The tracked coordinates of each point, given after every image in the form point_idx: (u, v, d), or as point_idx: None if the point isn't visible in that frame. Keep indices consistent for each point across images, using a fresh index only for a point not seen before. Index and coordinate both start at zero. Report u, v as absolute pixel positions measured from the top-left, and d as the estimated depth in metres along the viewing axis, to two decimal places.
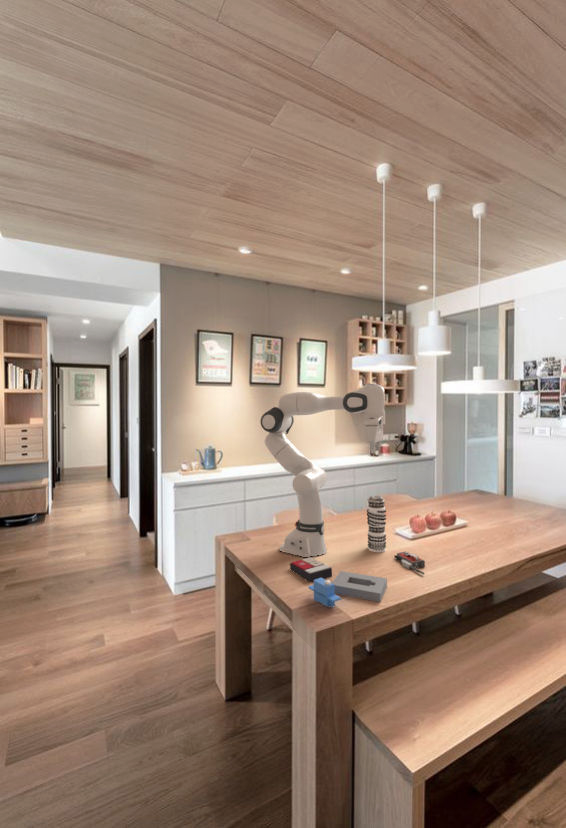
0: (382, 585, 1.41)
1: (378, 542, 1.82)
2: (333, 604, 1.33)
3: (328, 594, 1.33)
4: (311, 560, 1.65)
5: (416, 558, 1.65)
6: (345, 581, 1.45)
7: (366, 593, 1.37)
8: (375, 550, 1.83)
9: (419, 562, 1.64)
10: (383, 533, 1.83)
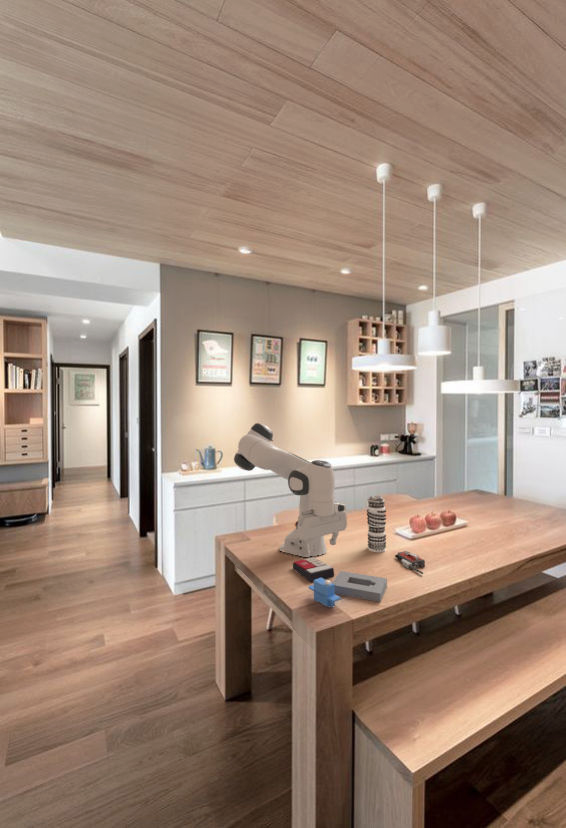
0: (382, 585, 1.41)
1: (378, 542, 1.82)
2: (333, 604, 1.33)
3: (328, 594, 1.33)
4: (314, 560, 1.65)
5: (416, 558, 1.65)
6: (345, 581, 1.45)
7: (366, 593, 1.37)
8: (375, 550, 1.83)
9: (419, 562, 1.64)
10: (383, 533, 1.83)
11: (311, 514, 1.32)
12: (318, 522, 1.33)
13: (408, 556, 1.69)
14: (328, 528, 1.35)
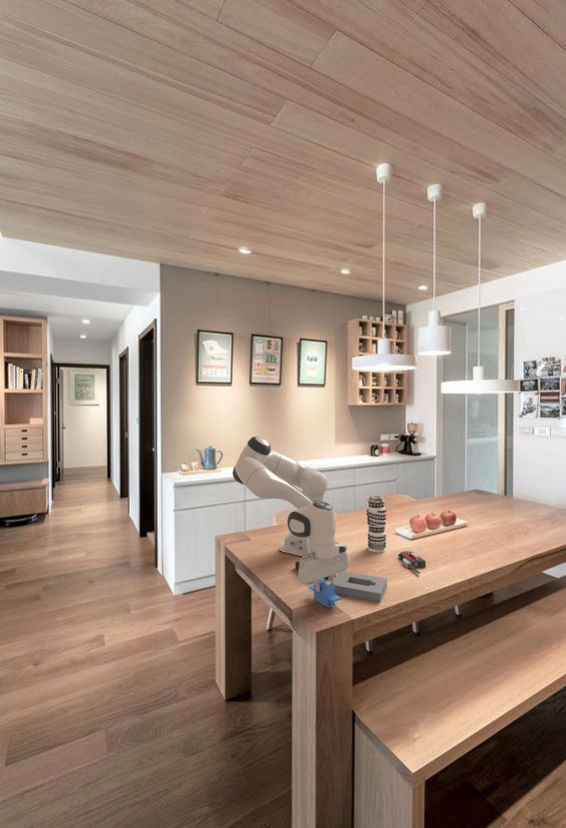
0: (382, 585, 1.41)
1: (378, 542, 1.82)
2: (333, 604, 1.33)
3: (328, 594, 1.33)
4: None
5: (416, 557, 1.65)
6: (345, 581, 1.45)
7: (366, 593, 1.37)
8: (375, 550, 1.83)
9: (419, 562, 1.64)
10: (383, 533, 1.83)
11: (312, 557, 1.33)
12: (319, 565, 1.33)
13: (410, 556, 1.69)
14: (329, 569, 1.35)
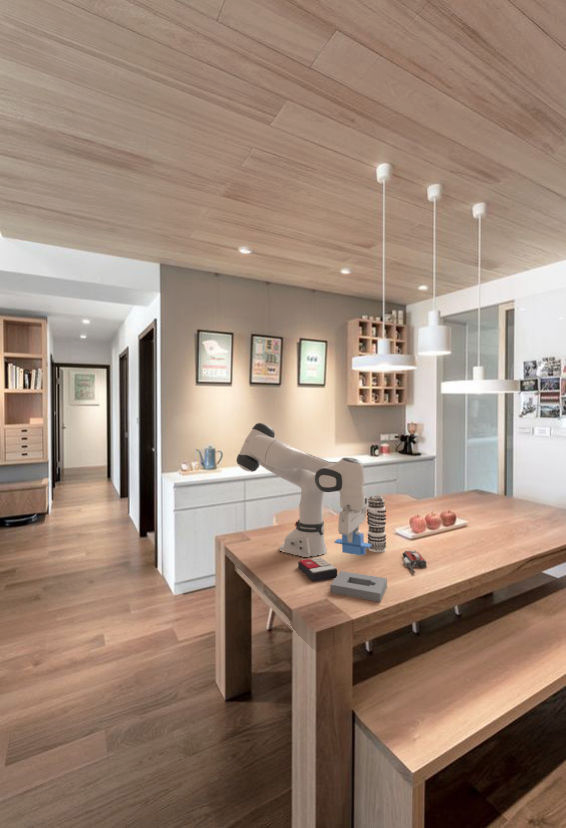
0: (382, 585, 1.41)
1: (378, 542, 1.82)
2: (365, 551, 1.41)
3: (361, 543, 1.41)
4: (319, 560, 1.65)
5: (416, 557, 1.65)
6: (345, 581, 1.45)
7: (366, 593, 1.37)
8: (375, 550, 1.83)
9: (419, 562, 1.64)
10: (383, 533, 1.83)
11: (348, 509, 1.39)
12: (353, 516, 1.40)
13: (412, 555, 1.70)
14: (358, 520, 1.44)
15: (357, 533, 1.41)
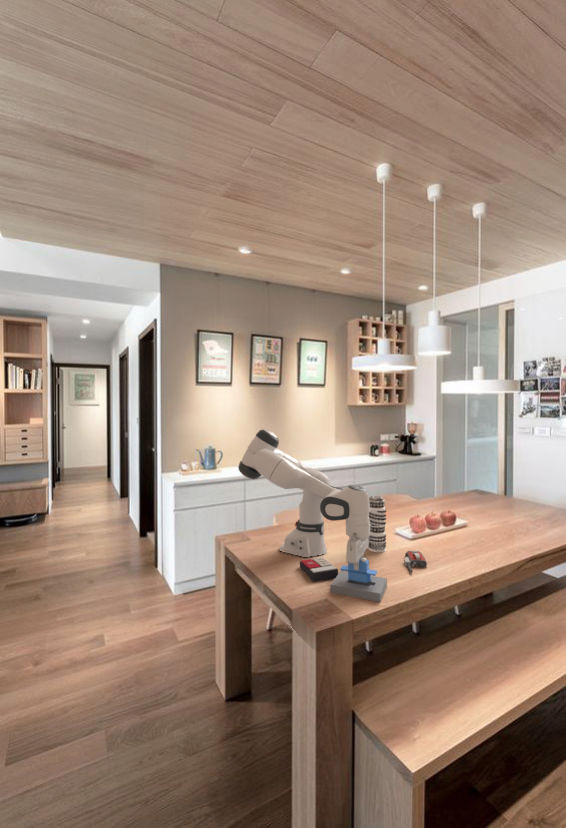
0: (382, 585, 1.41)
1: (378, 542, 1.82)
2: (370, 578, 1.43)
3: (367, 570, 1.42)
4: (321, 560, 1.65)
5: (417, 557, 1.65)
6: (345, 581, 1.45)
7: (366, 593, 1.37)
8: (375, 550, 1.83)
9: (419, 562, 1.64)
10: (383, 533, 1.83)
11: (355, 537, 1.40)
12: (360, 544, 1.41)
13: (413, 555, 1.70)
14: (363, 547, 1.45)
15: (363, 560, 1.43)
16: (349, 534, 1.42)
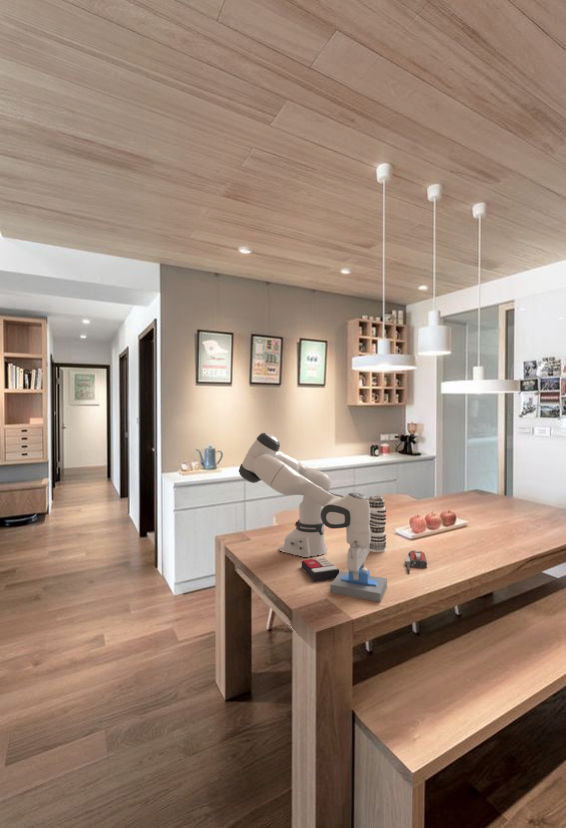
0: (382, 585, 1.41)
1: (378, 542, 1.82)
2: None
3: (368, 580, 1.43)
4: (323, 560, 1.65)
5: (417, 557, 1.65)
6: (345, 581, 1.45)
7: (366, 593, 1.37)
8: (375, 550, 1.83)
9: (419, 562, 1.64)
10: (383, 533, 1.83)
11: (356, 545, 1.40)
12: (360, 552, 1.41)
13: (415, 555, 1.70)
14: (364, 555, 1.45)
15: (364, 571, 1.43)
16: (350, 542, 1.42)
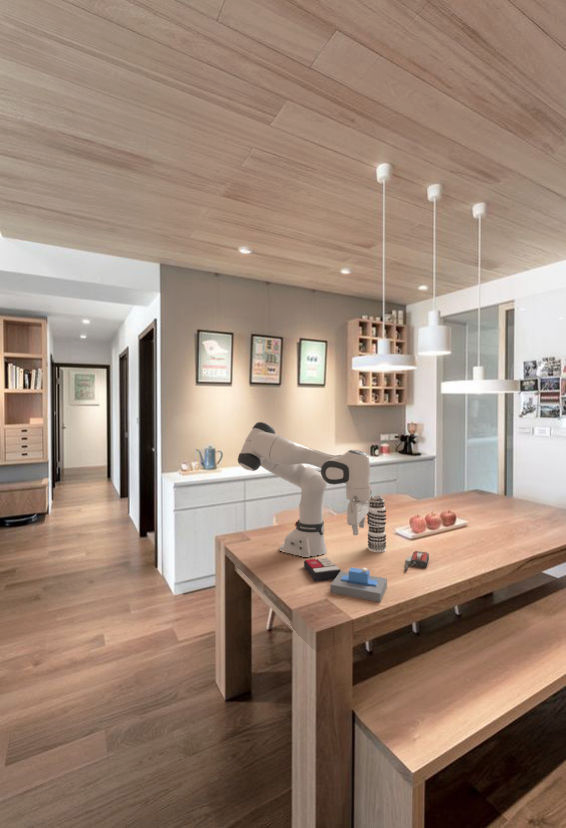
0: (382, 585, 1.41)
1: (378, 542, 1.82)
2: None
3: (368, 580, 1.43)
4: (325, 560, 1.65)
5: (417, 557, 1.66)
6: (345, 581, 1.45)
7: (366, 593, 1.37)
8: (375, 550, 1.83)
9: (418, 561, 1.64)
10: (383, 533, 1.83)
11: (356, 500, 1.41)
12: (360, 507, 1.42)
13: None
14: (364, 512, 1.46)
15: (364, 571, 1.43)
16: (350, 498, 1.43)
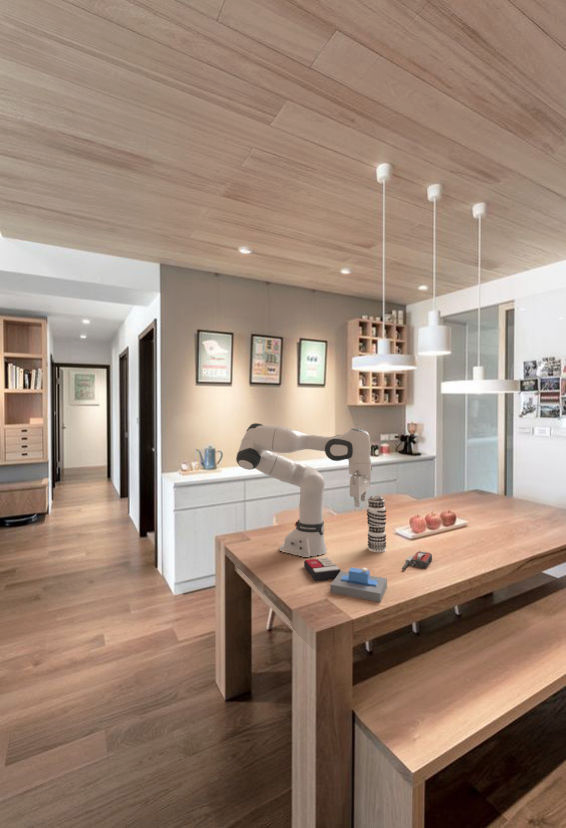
0: (382, 585, 1.41)
1: (378, 542, 1.82)
2: None
3: (368, 580, 1.43)
4: (325, 560, 1.65)
5: (418, 557, 1.66)
6: (345, 581, 1.45)
7: (366, 593, 1.37)
8: (375, 550, 1.83)
9: (418, 561, 1.64)
10: (383, 533, 1.83)
11: (357, 474, 1.51)
12: (362, 481, 1.53)
13: None
14: (365, 486, 1.57)
15: (364, 571, 1.43)
16: (352, 472, 1.54)
